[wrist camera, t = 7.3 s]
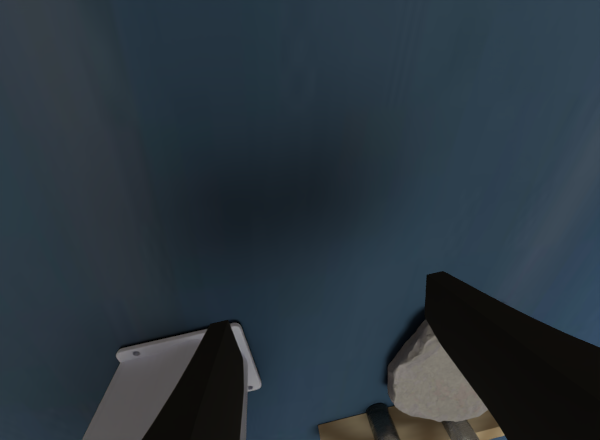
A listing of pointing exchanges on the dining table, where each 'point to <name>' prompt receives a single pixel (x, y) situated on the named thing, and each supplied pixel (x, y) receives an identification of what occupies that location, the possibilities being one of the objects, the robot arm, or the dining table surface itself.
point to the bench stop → (407, 427)
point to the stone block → (430, 381)
